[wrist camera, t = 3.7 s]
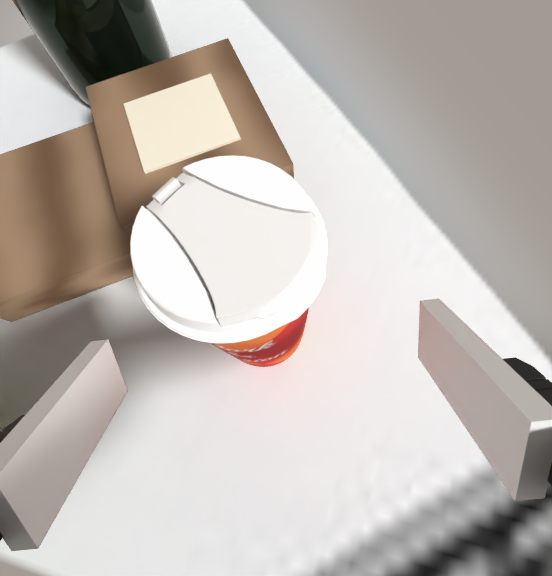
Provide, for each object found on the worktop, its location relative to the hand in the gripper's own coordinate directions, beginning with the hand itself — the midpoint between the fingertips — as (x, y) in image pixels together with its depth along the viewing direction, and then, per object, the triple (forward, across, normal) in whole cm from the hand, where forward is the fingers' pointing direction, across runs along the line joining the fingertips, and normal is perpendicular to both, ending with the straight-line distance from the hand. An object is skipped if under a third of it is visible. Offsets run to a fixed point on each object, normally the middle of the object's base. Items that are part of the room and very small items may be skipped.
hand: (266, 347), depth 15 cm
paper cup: (+10, -1, -5) cm, 11 cm away
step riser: (+19, -11, +5) cm, 22 cm away
